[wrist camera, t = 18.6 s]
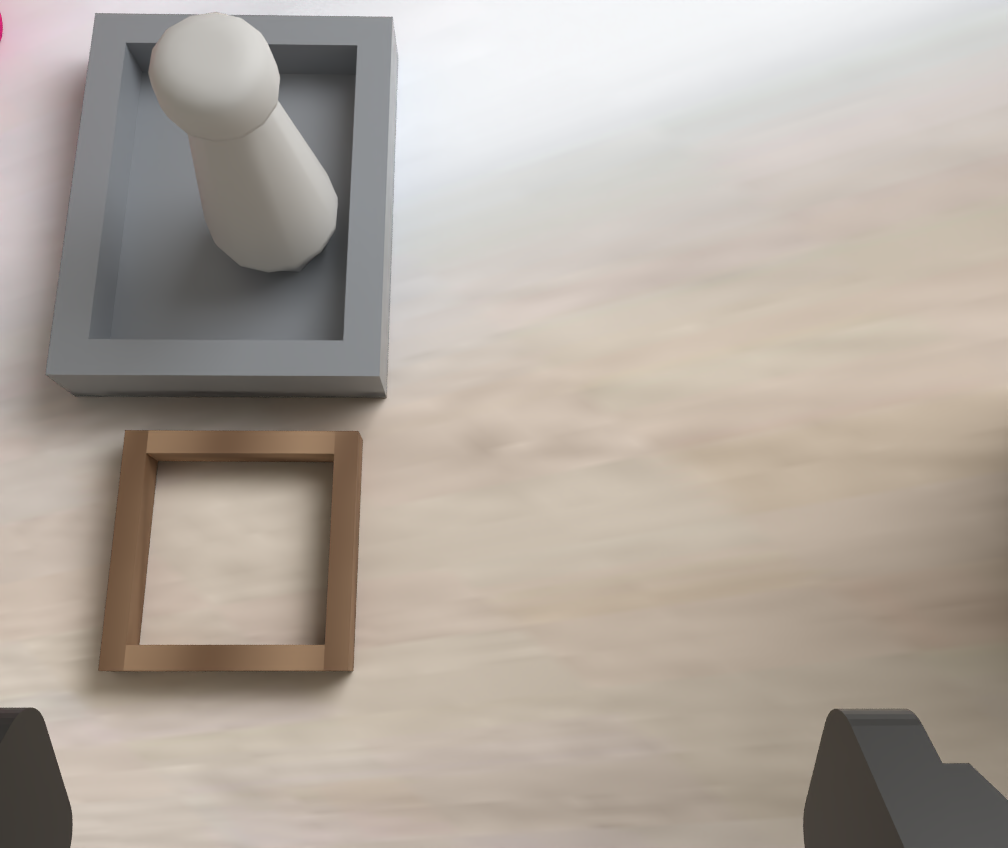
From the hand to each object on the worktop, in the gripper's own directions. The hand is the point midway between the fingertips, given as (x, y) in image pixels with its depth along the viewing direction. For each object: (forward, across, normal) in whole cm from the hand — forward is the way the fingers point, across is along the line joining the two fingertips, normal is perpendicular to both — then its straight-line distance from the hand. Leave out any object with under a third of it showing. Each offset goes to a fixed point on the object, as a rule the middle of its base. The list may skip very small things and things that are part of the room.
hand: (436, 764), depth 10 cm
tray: (+38, +11, +6) cm, 40 cm away
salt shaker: (+36, +9, +6) cm, 38 cm away
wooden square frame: (+26, +10, +17) cm, 33 cm away
